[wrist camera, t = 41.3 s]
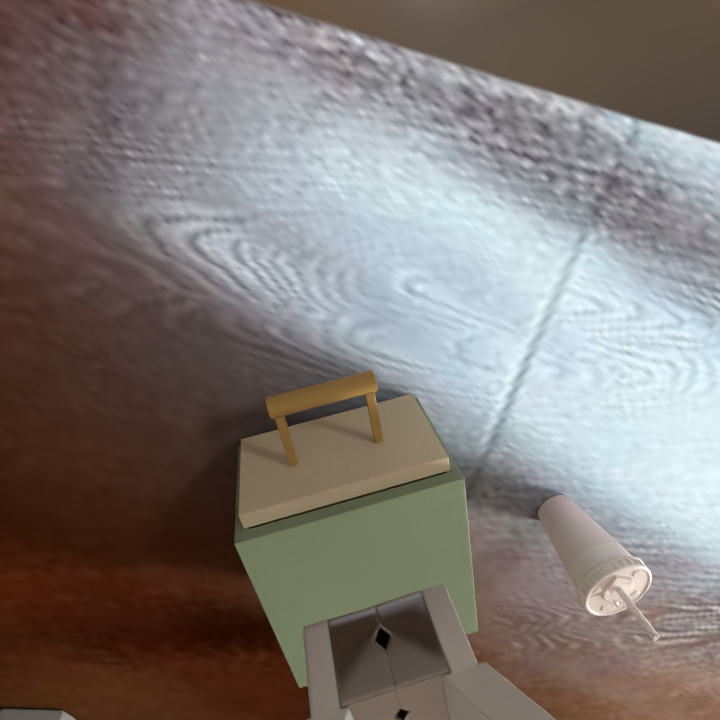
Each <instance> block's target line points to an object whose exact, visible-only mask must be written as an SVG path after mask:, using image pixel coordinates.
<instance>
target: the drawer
mask: <svg viewBox="0 0 720 720" xmlns="http://www.w3.org/2000/svg"><path fill="white" fill-rule="evenodd" d="M377 390H378V389H377V383H376V379H375V376H374V373H373V371H372V370H370V371H366V372H362V373H358V374H354V375H351V376H347V377H343V378H339V379H335V380H331V381H327V382H324V383H320V384H316V385H312V386H308V387H304V388H300V389H297V390H293V391H289V392H285V393H281V394H277V395H273V396H270V397H266V406H267V410H268V414H269V416H270V418H271V419H273V418H275V421H276V424H277V428H278V430H274V431H270V432H267V433H263V434H259V435H255V436H252V437H248V438H244V439H241V455H240V484H239V513H238V516H239V519H240V521H241V523H242V526H243V528H244V529H246V528H249V527H253V526H256V525H260V524H262V525H265V524H269V523H272V522H276V521H279V520H283V519H286V518H289V516H291V515H295V514H298V513H302V512H305V511H309V510H312V509H316V508H319V507H323V506H326V505H330V504H333V503H337V502H340V501H344V500H347V499H351V498H355V497H358V496H362V495H365V494H369V493H372V492H376V491H379V490H383V489H386V488H390V487H393V486H397V485H400V484H403V485H406V484H409V483H413V482H416V481H420V480H423V479H427V478H430V477H433V475H435V474H439V473H442V472H446V471H449V470H450V468H449V459H448V456H447V454H446V452H445V450H444V449H443V447H442V445H441V443H440V442H439V440H438V438H437V436H436V435H435V433H434V431H433V430H432V428H431V426H430V424H429V423H428V421H427V419H426V417H425V416H424V414H423V412H422V410H421V409H420V407H419V405H418V403H417V402H416V400H415V398H414V396H413V395H412V394H409V395H406V396H402V397H398V398H394V399H391V400H387V401H383V402H379V403H376V398H375V393H374V392H375V391H377ZM364 394H365V399H366V404H367V406H364V407H361V408H357V409H353V410H349V411H346V412H342V413H338V414H334V415H330V416H327V417H323V418H319V419H315V420H312V421H308V422H304V423H300V424H297V425H293V426H289V427H288V425H287V422H286V419H285V416H284V415H288V414H292V413H296V412H299V411H303V410H307V409H311V408H315V407H318V406H322V405H326V404H330V403H334V402H337V401H341V400H345V399H349V398H353V397H356V396H360V395H364Z"/></svg>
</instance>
